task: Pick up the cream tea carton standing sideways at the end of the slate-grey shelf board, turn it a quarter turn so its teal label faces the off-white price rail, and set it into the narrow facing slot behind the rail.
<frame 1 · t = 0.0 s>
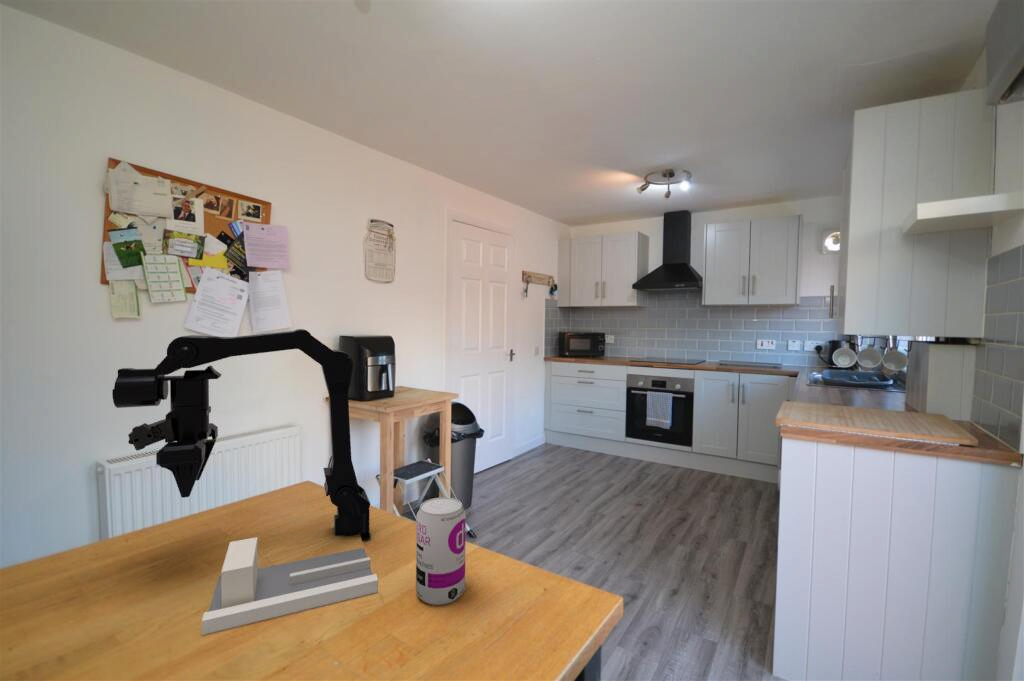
hand: (191, 488, 82), 15 cm above the table, fingers open, 9 cm apart
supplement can: (440, 593, 76), on the table
tea carton: (241, 596, 71), point 1 cm above the table, touching shelf board
shelf board: (296, 592, 75), on the table
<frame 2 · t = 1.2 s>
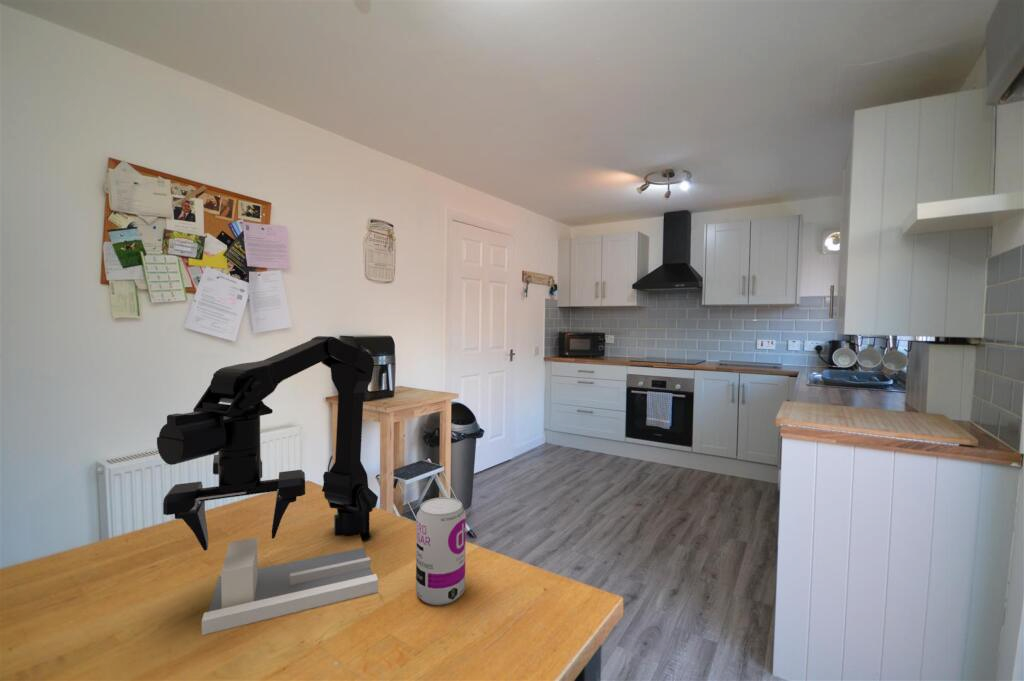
hand: (240, 543, 71), 10 cm above the table, fingers open, 9 cm apart
nothing on the table moved.
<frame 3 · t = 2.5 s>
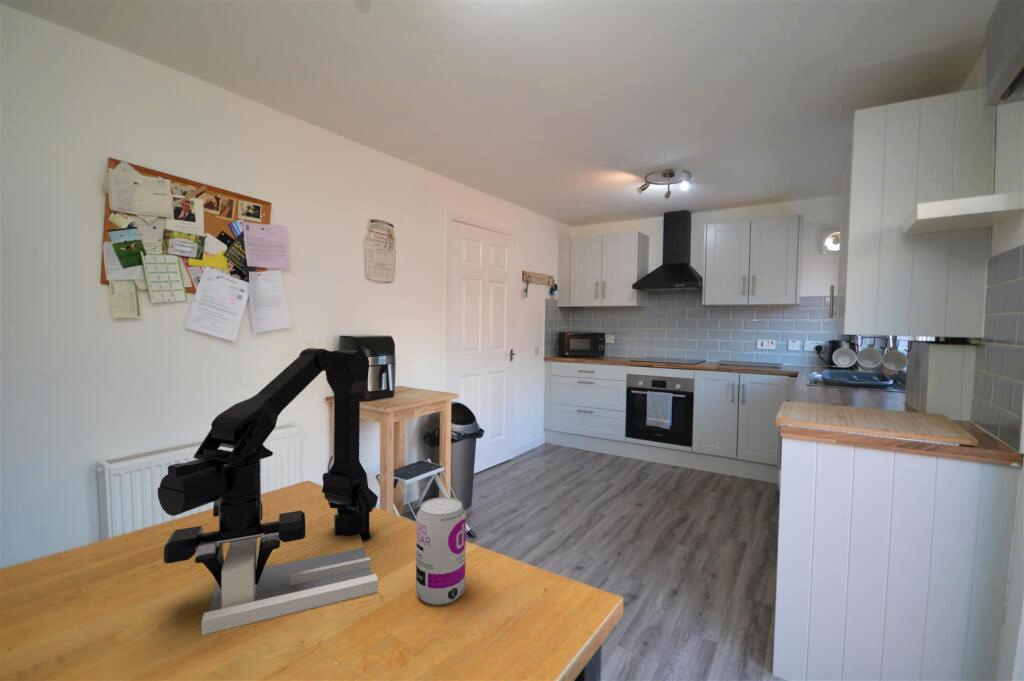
hand: (240, 586, 71), 3 cm above the table, fingers closed on tea carton, 4 cm apart
tea carton: (241, 596, 71), point 1 cm above the table, touching gripper, shelf board
everything else where it was.
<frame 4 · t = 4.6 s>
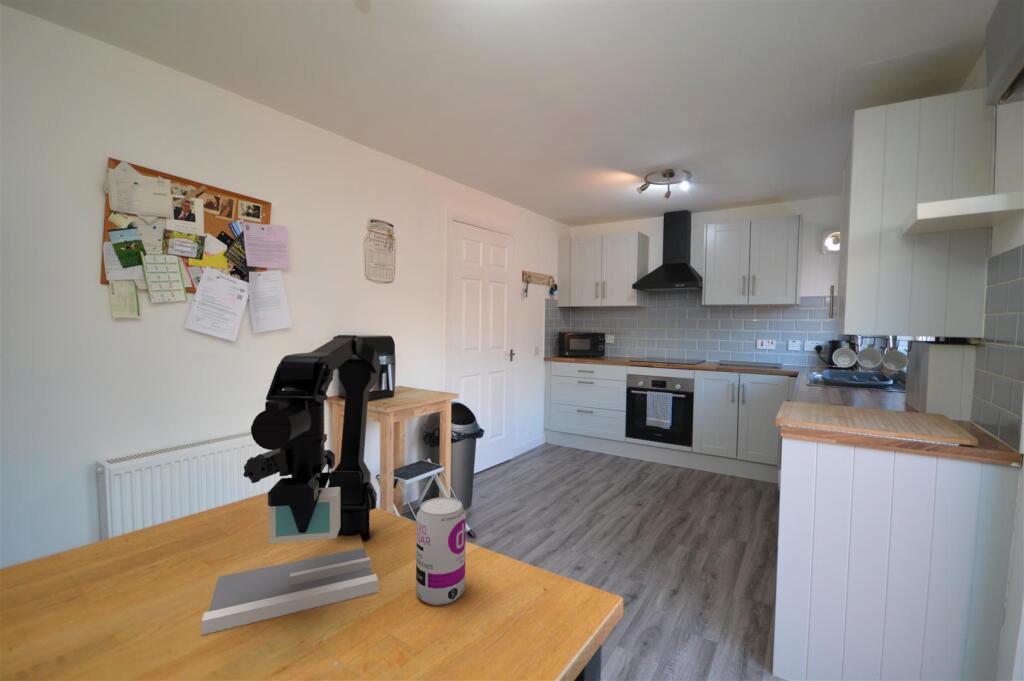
hand: (305, 526, 73), 12 cm above the table, fingers closed on tea carton, 4 cm apart
tea carton: (306, 535, 73), point 11 cm above the table, touching gripper
everything else where it was.
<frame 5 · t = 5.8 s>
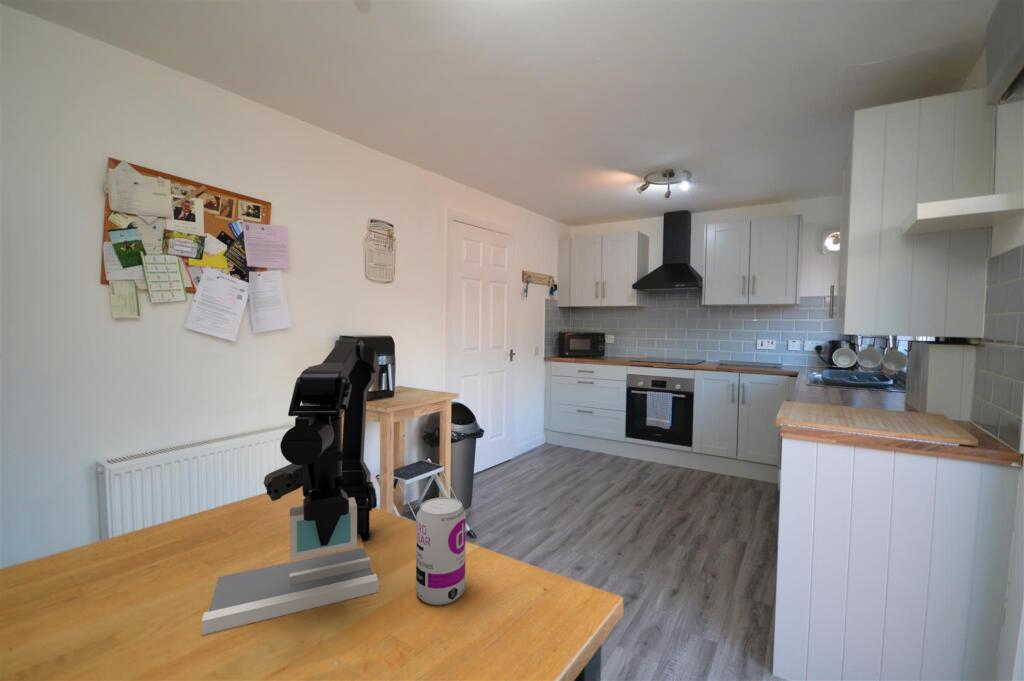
hand: (323, 539, 74), 10 cm above the table, fingers closed on tea carton, 4 cm apart
tea carton: (323, 547, 74), point 8 cm above the table, touching gripper
everything else where it was.
when the fingers open (5 cm above the table, at t = 6.8 s): tea carton drops 2 cm, resting on shelf board.
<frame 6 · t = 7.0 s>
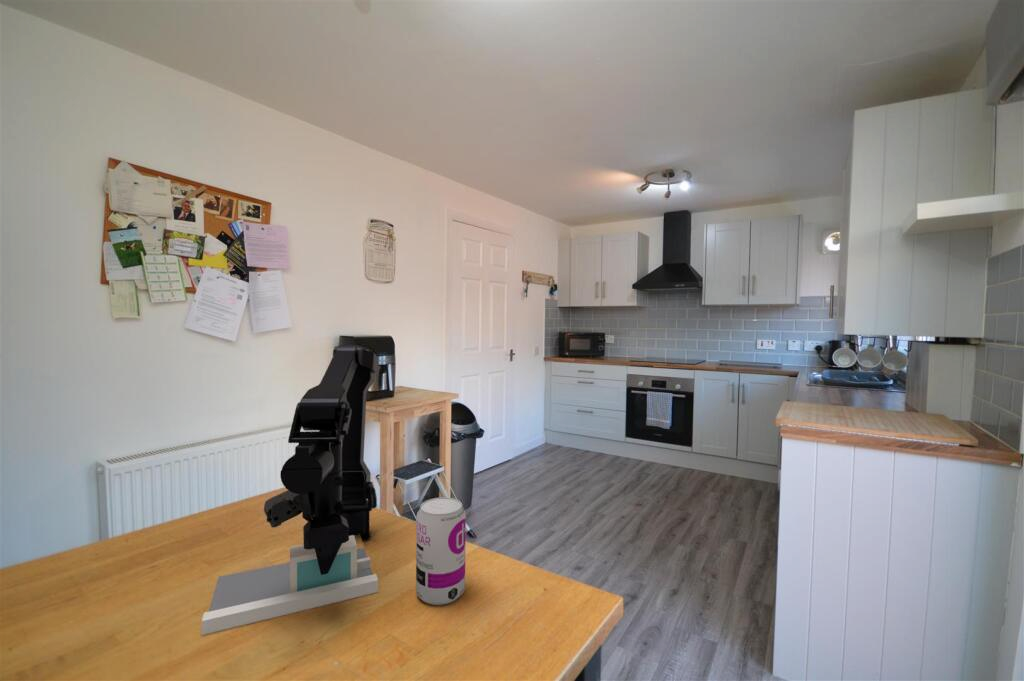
hand: (323, 564, 74), 5 cm above the table, fingers open, 6 cm apart
tea carton: (323, 587, 74), point 1 cm above the table, touching shelf board
everything else where it was.
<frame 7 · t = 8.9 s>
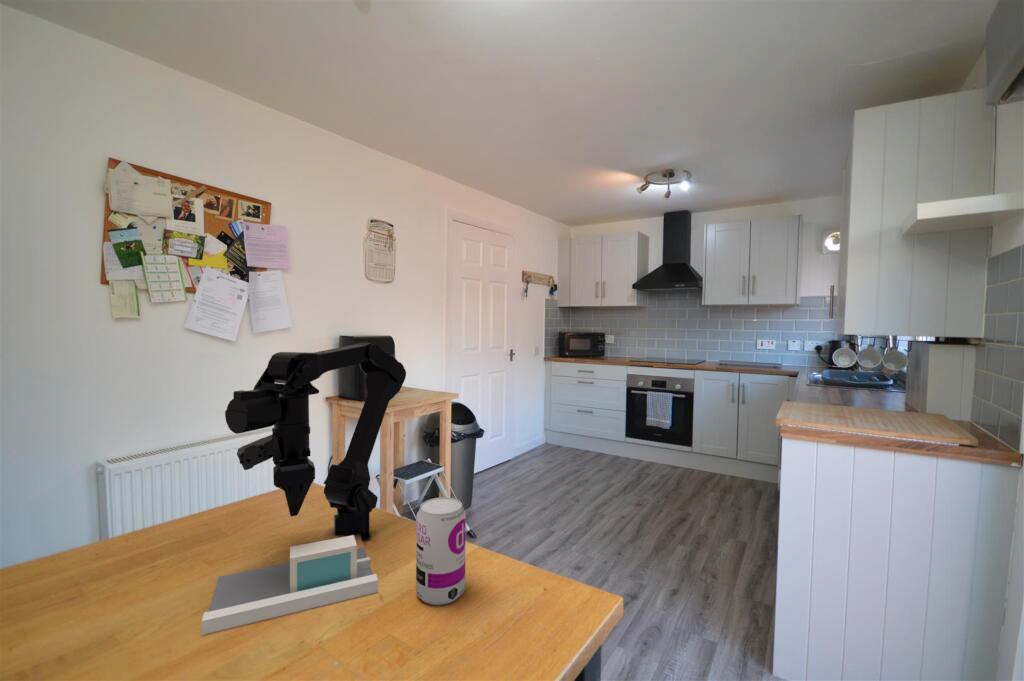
hand: (292, 505, 81), 12 cm above the table, fingers open, 9 cm apart
nothing on the table moved.
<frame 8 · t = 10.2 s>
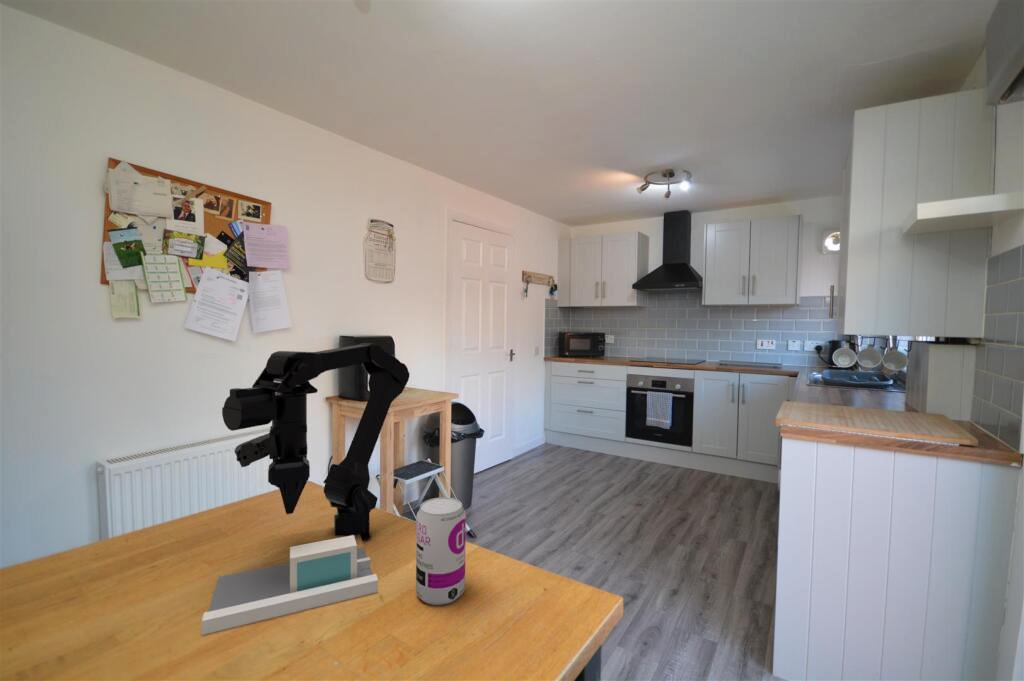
hand: (289, 503, 82), 12 cm above the table, fingers open, 9 cm apart
nothing on the table moved.
at the end: tea carton 0.1 cm from the target spot, point 1.5 cm above the table; tea carton tilted 0°; the gripper is holding nothing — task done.
